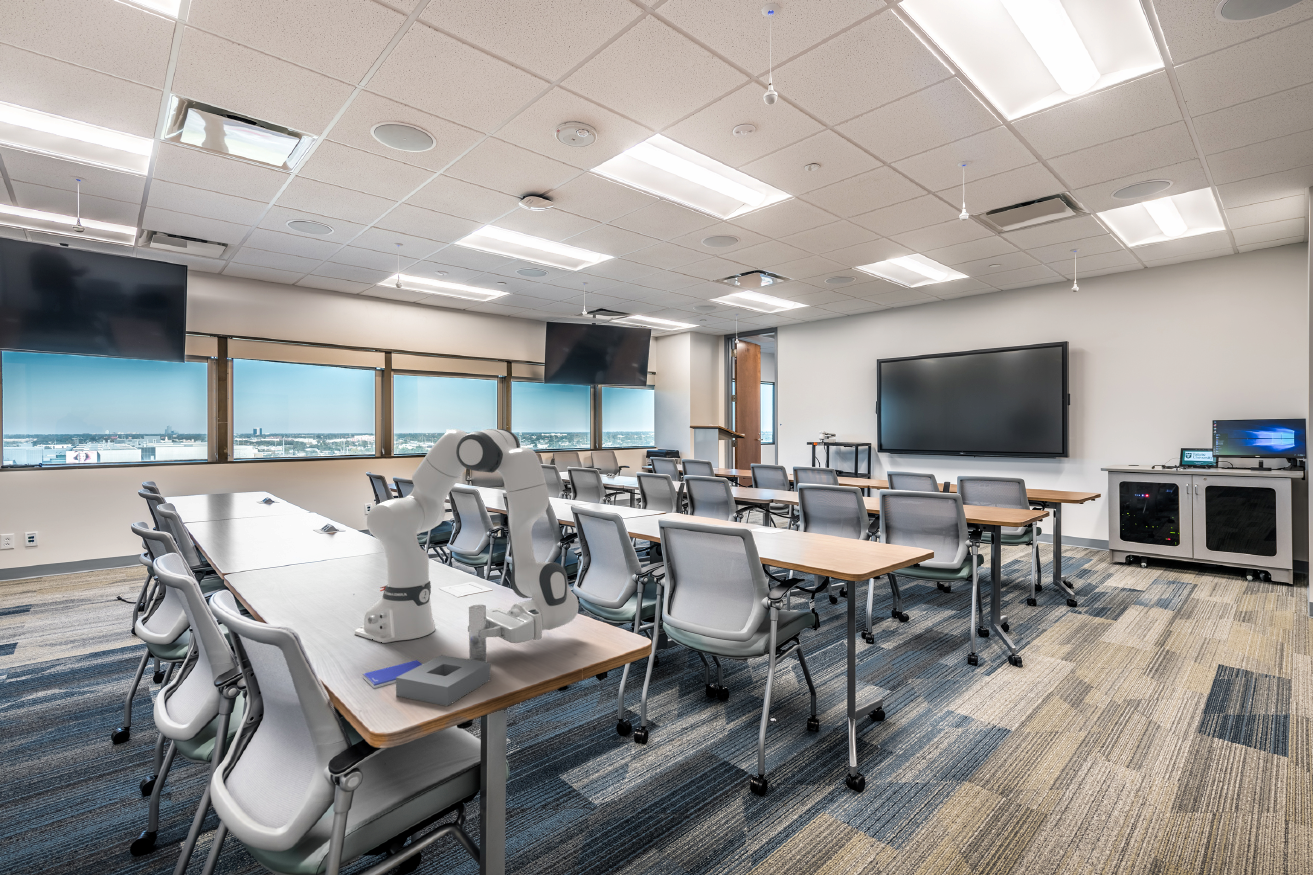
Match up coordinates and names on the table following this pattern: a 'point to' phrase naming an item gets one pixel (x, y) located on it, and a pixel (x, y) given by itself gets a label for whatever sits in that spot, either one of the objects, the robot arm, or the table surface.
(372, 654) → the table surface
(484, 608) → the post
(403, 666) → the hard drive
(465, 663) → the socket base
